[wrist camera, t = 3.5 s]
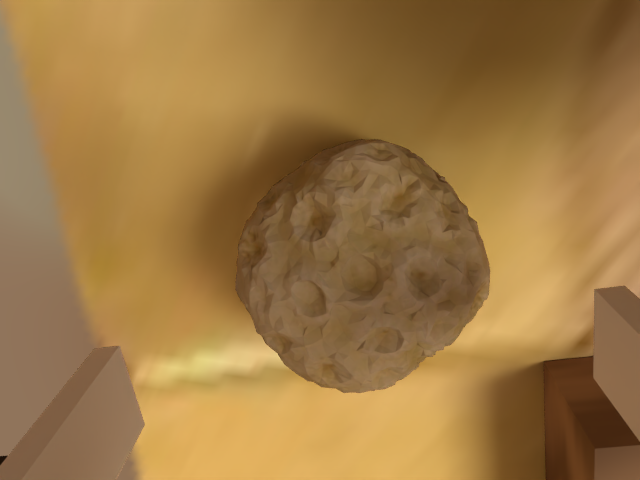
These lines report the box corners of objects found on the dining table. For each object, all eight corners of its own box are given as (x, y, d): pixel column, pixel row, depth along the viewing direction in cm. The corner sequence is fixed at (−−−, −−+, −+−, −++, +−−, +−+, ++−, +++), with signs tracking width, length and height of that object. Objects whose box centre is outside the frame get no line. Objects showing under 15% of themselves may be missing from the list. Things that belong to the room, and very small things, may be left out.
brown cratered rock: (328, 354, 27) (321, 467, 20) (218, 203, 25) (165, 272, 18) (498, 264, 25) (556, 356, 18) (396, 89, 23) (417, 115, 16)
